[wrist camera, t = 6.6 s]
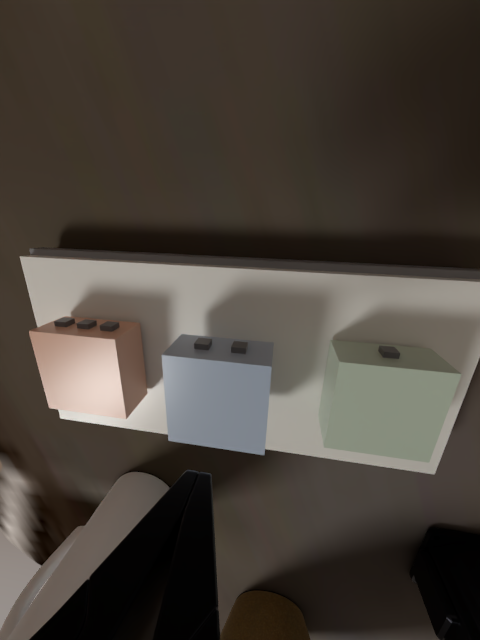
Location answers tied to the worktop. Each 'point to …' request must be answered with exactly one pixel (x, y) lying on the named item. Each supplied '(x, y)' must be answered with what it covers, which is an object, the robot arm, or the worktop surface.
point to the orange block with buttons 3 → (91, 365)
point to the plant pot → (264, 618)
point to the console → (266, 323)
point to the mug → (82, 553)
